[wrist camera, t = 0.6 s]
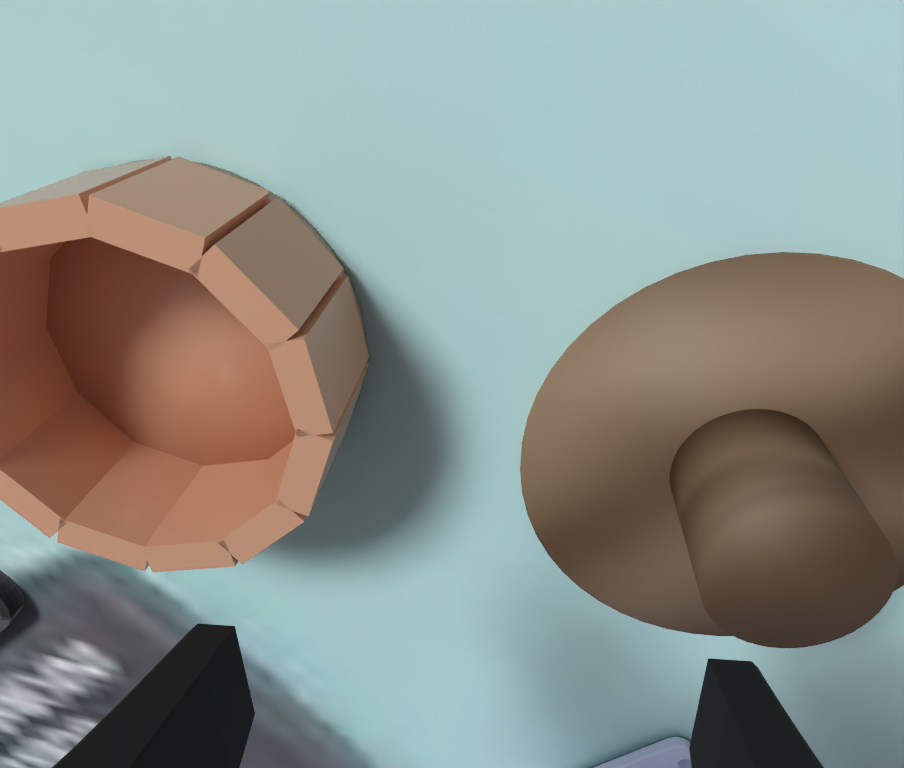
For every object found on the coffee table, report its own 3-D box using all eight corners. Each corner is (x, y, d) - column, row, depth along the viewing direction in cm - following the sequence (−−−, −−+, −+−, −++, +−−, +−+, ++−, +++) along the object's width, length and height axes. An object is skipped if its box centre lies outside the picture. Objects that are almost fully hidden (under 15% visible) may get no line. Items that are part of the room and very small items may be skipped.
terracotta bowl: (437, 362, 18) (414, 447, 15) (218, 521, 22) (157, 621, 18) (171, 73, 16) (66, 92, 12) (-31, 307, 19) (-160, 375, 15)
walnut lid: (1065, 501, 19) (1210, 637, 15) (670, 672, 23) (698, 811, 19) (850, 137, 15) (963, 184, 11) (434, 423, 20) (407, 530, 16)
